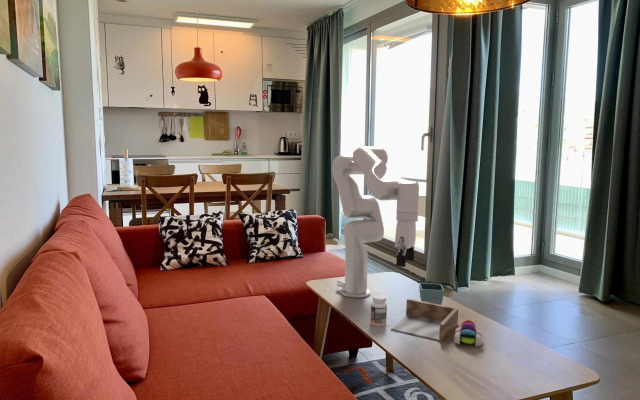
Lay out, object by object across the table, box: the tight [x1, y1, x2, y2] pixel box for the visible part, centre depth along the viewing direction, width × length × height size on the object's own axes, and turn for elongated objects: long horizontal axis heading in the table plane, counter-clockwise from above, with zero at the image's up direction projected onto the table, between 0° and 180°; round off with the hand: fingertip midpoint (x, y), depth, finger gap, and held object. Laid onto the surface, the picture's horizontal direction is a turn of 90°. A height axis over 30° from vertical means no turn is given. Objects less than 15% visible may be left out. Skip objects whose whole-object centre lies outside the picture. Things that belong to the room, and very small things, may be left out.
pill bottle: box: [369, 294, 388, 327], centre depth 177 cm, size 6×6×10 cm
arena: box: [390, 298, 459, 343], centre depth 175 cm, size 19×19×6 cm
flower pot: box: [418, 282, 445, 305], centre depth 194 cm, size 9×9×9 cm
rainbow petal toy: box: [453, 319, 483, 347], centre depth 163 cm, size 8×10×7 cm
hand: (405, 263), depth 178 cm, fingers open, 9 cm apart
